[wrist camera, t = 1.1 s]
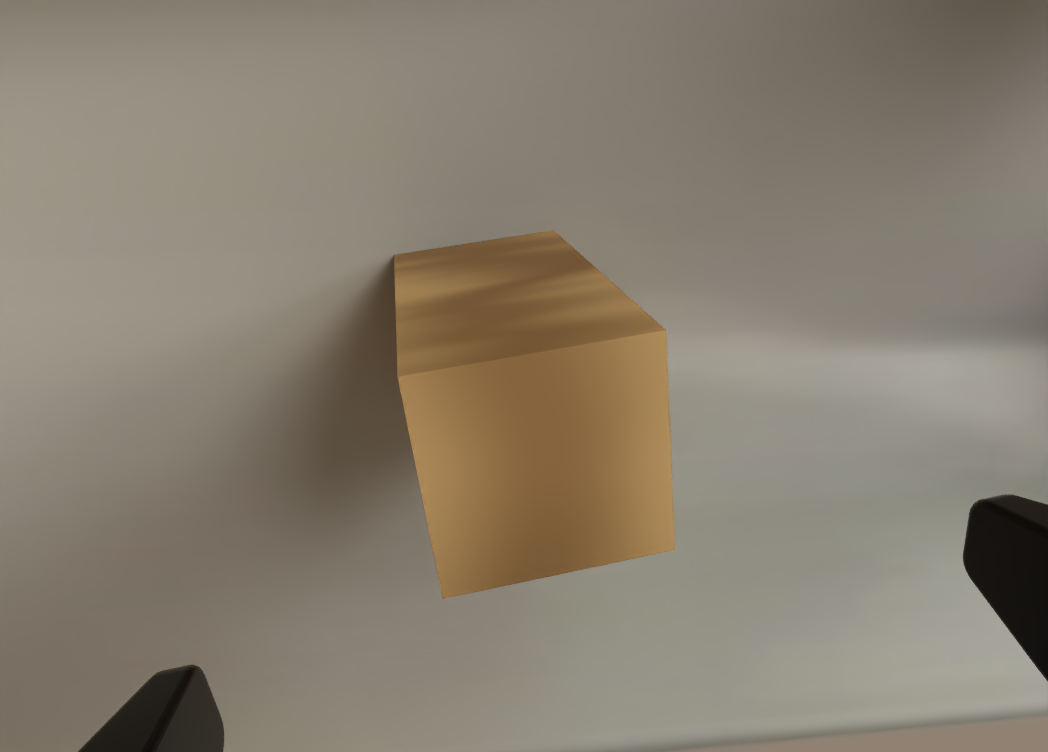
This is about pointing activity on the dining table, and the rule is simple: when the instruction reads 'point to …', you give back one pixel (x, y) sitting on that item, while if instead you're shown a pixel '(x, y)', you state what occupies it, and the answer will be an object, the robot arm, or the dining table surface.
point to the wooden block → (531, 411)
